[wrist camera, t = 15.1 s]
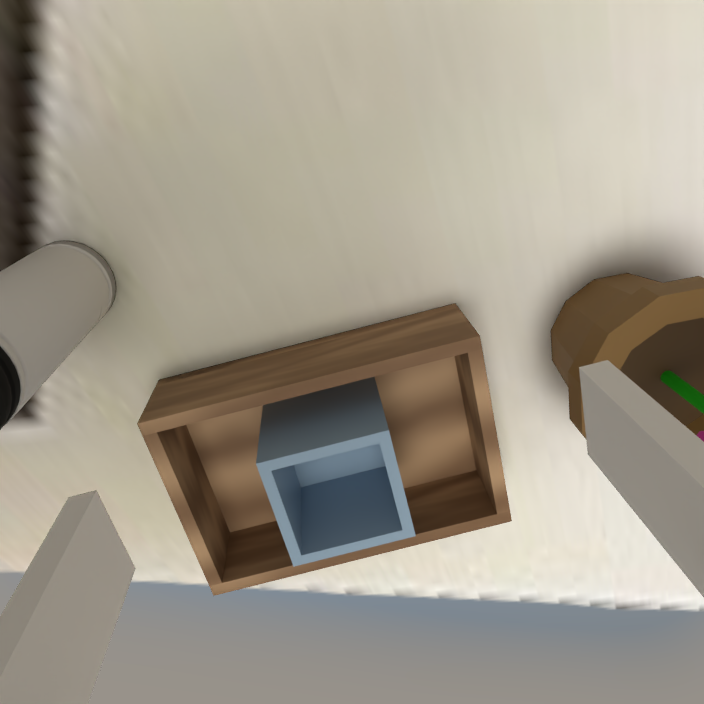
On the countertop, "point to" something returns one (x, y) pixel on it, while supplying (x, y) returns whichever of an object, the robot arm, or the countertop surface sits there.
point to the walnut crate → (314, 375)
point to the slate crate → (332, 472)
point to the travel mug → (47, 315)
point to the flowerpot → (637, 341)
